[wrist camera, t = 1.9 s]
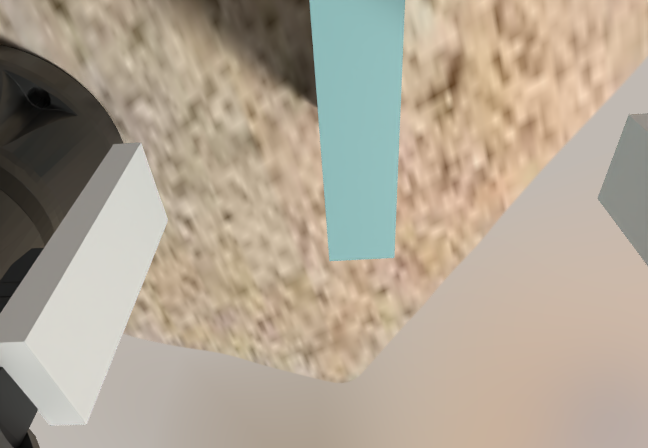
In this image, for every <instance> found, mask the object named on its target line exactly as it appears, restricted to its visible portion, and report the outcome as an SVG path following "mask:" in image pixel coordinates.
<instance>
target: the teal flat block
mask: <svg viewBox="0 0 648 448" xmlns="http://www.w3.org/2000/svg"><path fill="white" fill-rule="evenodd" d="M309 2H310V15H311V28H312V41H313V54H314V66H315V79H316V92H317V105H318V118H319V131H320V144H321V157H322V169H323V182H324V195H325V208H326V221H327V234H328V247H329V260H330V261H341V260H360V259H380V258H394V251H395V227H396V203H397V179H398V154H399V130H400V106H401V82H402V58H403V34H404V10H405V0H309Z"/></svg>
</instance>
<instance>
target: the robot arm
mask: <svg viewBox="0 0 648 448" xmlns="http://www.w3.org/2000/svg"><path fill="white" fill-rule="evenodd" d="M598 200H599V201H600V202H601V204H602V205H603V206H604V208H605V209H606V210H607V212H608V213H609V214H610V216H611V217H612V218H613V220H614V221H615V222H616V224H617V225H618V226H619V228H620V229H621V231H622V232H623V233H624V235H625V236H626V237H627V239H628V240H629V241H630V243H631V244H632V245H633V247H634V248H635V249H636V251H637V252H638V253H639V255H640V256H641V257H642V259H643V260H644V261H645V263H646V264H647V265H648V114H631V115H629V116H628V118H627V121H626V124H625V126H624V129H623V132H622V134H621V137H620V140H619V142H618V145H617V148H616V150H615V153H614V156H613V158H612V161H611V164H610V167H609V169H608V172H607V174H606V178H605V180H604V183H603V185H602V188H601V191H600V193H599V196H598ZM167 222H168V219H167V216H166V213H165V210H164V207H163V204H162V201H161V198H160V196H159V193H158V190H157V187H156V184H155V181H154V178H153V176H152V173H151V170H150V167H149V164H148V161H147V158H146V156H145V153H144V150H143V147H142V144H141V143H125V144H123V142H122V139H121V137H120V134H119V132H118V130H117V128H116V126H115V125H114V123H113V121H112V119H111V118H110V117H109V115H108V114H107V112H106V111H105V110H104V108H103V107H102V106H101V105H100V103H99V102H98V101H97V100H96V99H95V98H94V97H93V96H92V95H91V94H90V93H89V92H88V91H87V90H86V89H85V88H84V87H83V86H82V85H80V84H79V83H78V82H77V81H75V80H74V79H73V78H71V77H70V76H69V75H67V74H66V73H64V72H63V71H61V70H60V69H58V68H57V67H55V66H53V65H51V64H50V63H48V62H46V61H44V60H42V59H40V58H38V57H35V56H33V55H31V54H28V53H26V52H23V51H20V50H17V49H14V48H10V47H6V46H2V45H0V448H40V447H39V445H38V442H37V439H36V436H35V435H34V434H33V433H32V431H31V430H30V429H29V427H30V425H31V423H32V421H33V419H34V417H35V415H36V413H37V411H38V412H39V413H40V414H41V416H42V417H43V418H44V419H45V420H46V421H47V423H48V424H49V425H50V426H54V425H84V424H87V422H88V419H89V417H90V415H91V412H92V410H93V407H94V404H95V402H96V399H97V397H98V395H99V392H100V390H101V387H102V384H103V382H104V379H105V377H106V374H107V372H108V369H109V367H110V364H111V362H112V359H113V357H114V354H115V352H116V349H117V347H118V344H119V342H120V339H121V337H122V334H123V332H124V329H125V327H126V324H127V322H128V319H129V317H130V314H131V312H132V309H133V307H134V304H135V302H136V299H137V297H138V294H139V292H140V289H141V287H142V284H143V282H144V279H145V277H146V274H147V272H148V269H149V267H150V264H151V262H152V259H153V257H154V254H155V252H156V249H157V247H158V244H159V242H160V239H161V237H162V234H163V232H164V229H165V227H166V224H167Z"/></svg>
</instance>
